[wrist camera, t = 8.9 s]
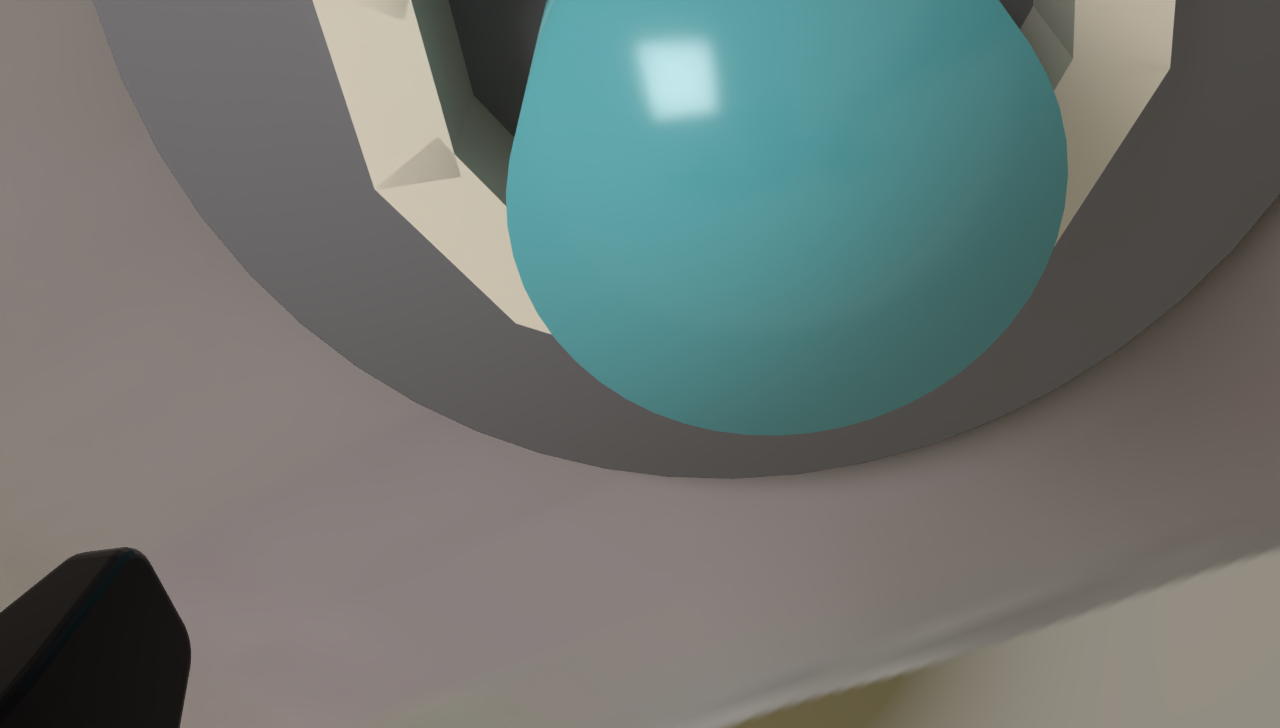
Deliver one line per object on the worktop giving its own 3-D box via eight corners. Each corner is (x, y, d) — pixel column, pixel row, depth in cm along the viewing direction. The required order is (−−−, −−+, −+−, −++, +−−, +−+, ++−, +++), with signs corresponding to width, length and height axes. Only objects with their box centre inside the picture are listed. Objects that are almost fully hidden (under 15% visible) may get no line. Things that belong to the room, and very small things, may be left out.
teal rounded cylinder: (915, -258, 15) (1075, -122, 9) (931, 116, 18) (1062, 400, 12) (521, -183, 16) (441, -10, 10) (596, 169, 18) (569, 464, 13)
